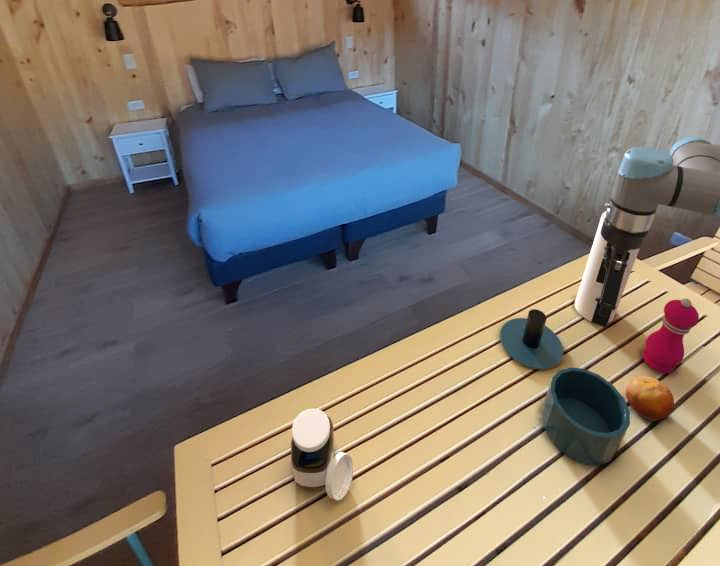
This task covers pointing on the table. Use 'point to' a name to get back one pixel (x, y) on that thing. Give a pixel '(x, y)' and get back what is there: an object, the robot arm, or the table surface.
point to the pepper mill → (670, 336)
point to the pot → (585, 416)
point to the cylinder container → (588, 284)
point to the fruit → (650, 398)
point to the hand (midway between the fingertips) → (600, 302)
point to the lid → (531, 341)
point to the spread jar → (319, 455)
